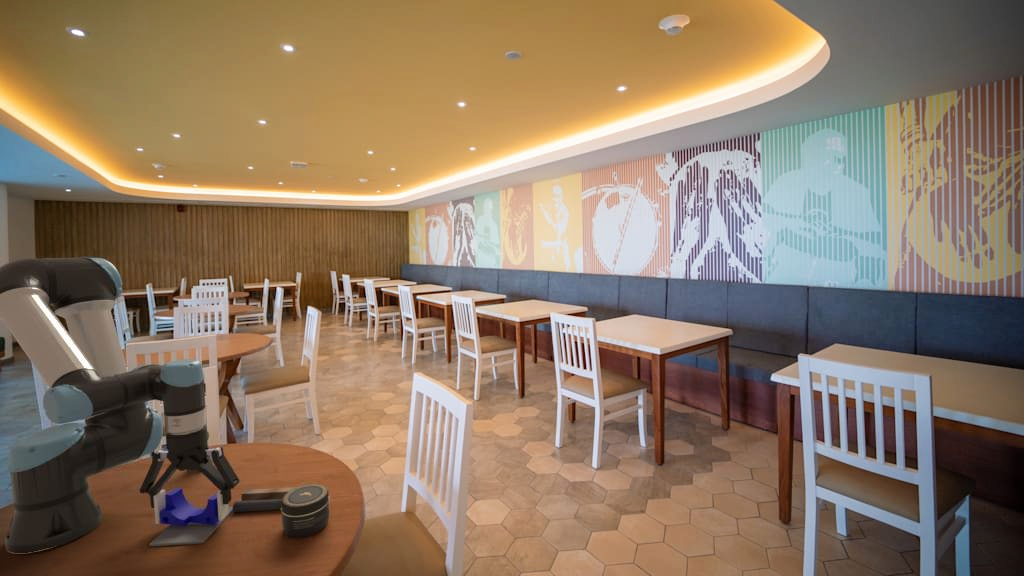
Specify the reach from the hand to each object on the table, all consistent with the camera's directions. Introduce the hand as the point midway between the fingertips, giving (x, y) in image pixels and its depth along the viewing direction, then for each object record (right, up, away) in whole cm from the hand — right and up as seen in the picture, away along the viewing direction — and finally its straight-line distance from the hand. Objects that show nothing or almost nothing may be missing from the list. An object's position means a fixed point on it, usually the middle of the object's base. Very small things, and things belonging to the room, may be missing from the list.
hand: (192, 518), depth 101 cm
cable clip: (0, -1, 0) cm, 1 cm away
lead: (+12, -1, +8) cm, 15 cm away
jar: (+26, -2, +1) cm, 26 cm away
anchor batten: (+12, -1, +11) cm, 17 cm away
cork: (-18, 0, +29) cm, 34 cm away
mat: (0, -2, +1) cm, 2 cm away
